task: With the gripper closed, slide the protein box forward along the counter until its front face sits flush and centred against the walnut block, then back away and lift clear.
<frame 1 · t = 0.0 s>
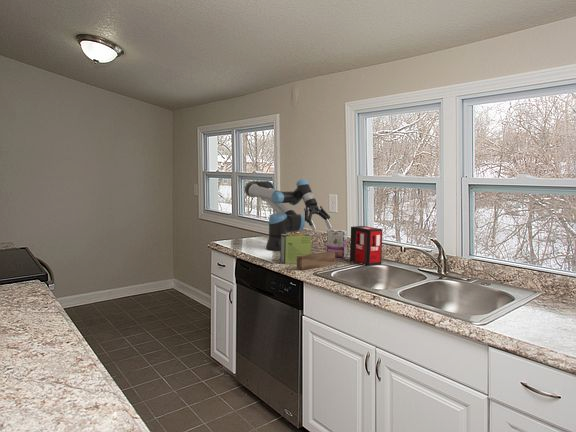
hand: (322, 229, 271), 15 cm above the countertop, tool tilted 35°, fingers open, 13 cm apart
candy bar box: (336, 257, 262), on the countertop
protein box: (295, 262, 246), on the countertop
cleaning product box: (365, 263, 246), on the countertop
walnut block: (316, 266, 232), on the countertop
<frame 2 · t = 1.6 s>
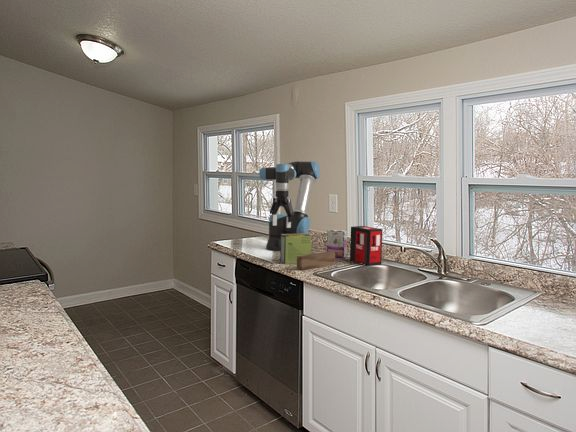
hand: (281, 226, 255), 19 cm above the countertop, tool pointing down, fingers open, 12 cm apart
nothing on the countertop moved.
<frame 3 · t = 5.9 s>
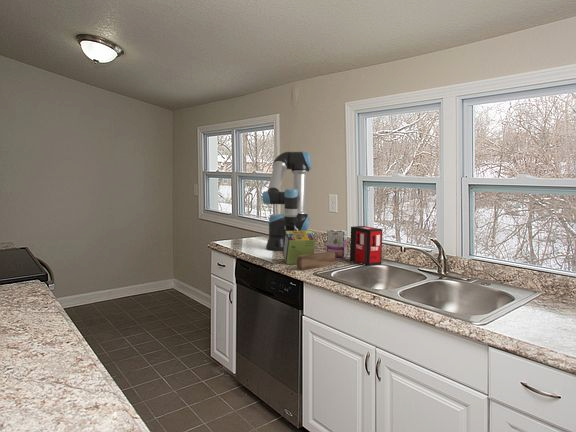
hand: (290, 256, 249), 2 cm above the countertop, tool pointing down, fingers closed
protein box: (297, 259, 244), point 2 cm above the countertop, touching gripper, hand
everything else where it was.
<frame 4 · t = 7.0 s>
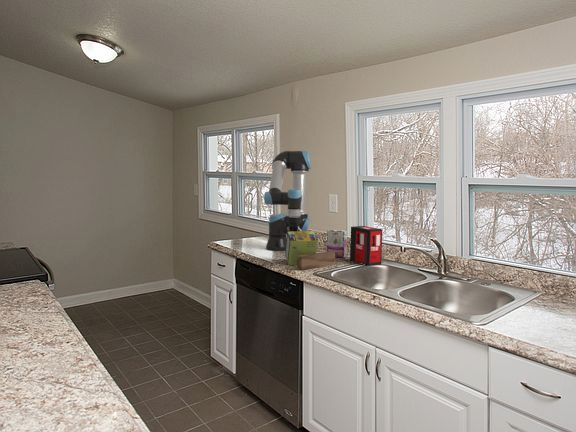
hand: (293, 257, 247), 2 cm above the countertop, tool pointing down, fingers closed
protein box: (299, 260, 241), point 2 cm above the countertop
everything else where it was.
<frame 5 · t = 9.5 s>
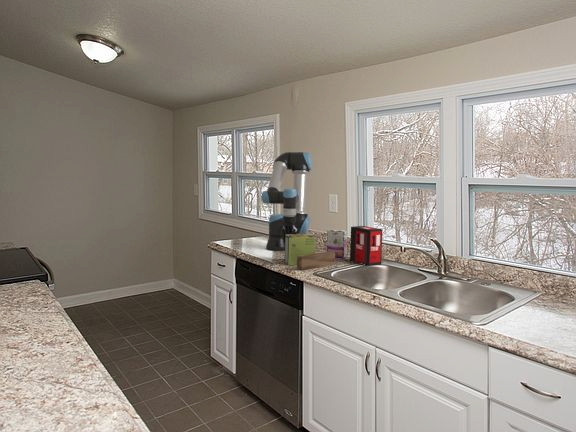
hand: (288, 256, 251), 2 cm above the countertop, tool pointing down, fingers closed
protein box: (299, 263, 242), on the countertop, touching hand
everything else where it was.
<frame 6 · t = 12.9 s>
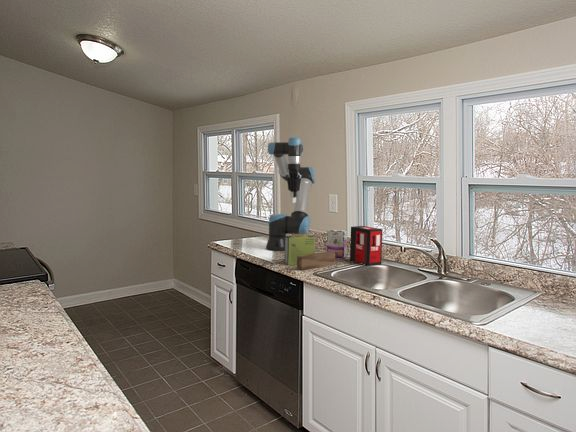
hand: (293, 202, 263), 32 cm above the countertop, tool pointing down, fingers closed
protein box: (299, 263, 242), on the countertop
everything else where it was.
at the end: protein box 1.6 cm from the target spot on the countertop beside the walnut block, on the countertop; protein box tilted 0° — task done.
